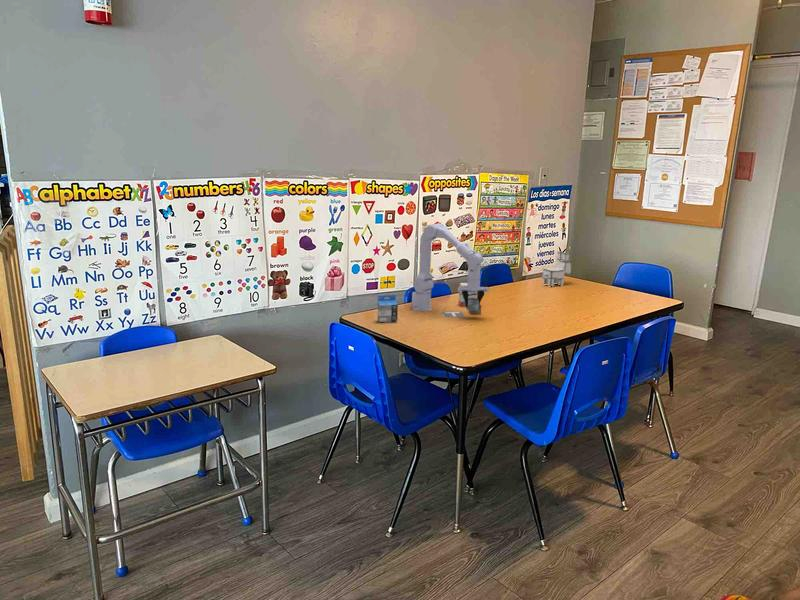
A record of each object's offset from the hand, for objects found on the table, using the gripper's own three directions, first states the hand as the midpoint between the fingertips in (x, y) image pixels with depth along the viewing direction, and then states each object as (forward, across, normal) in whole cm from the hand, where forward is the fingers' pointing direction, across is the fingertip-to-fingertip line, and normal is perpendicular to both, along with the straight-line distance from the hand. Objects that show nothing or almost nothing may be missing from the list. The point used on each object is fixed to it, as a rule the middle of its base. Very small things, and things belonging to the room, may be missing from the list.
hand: (472, 306), depth 285 cm
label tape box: (+6, -41, -4) cm, 42 cm away
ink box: (+6, +3, +24) cm, 25 cm away
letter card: (+6, -7, +7) cm, 12 cm away
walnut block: (+6, +4, +9) cm, 11 cm away
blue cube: (+2, 0, 0) cm, 2 cm away
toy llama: (+6, +67, +72) cm, 99 cm away
